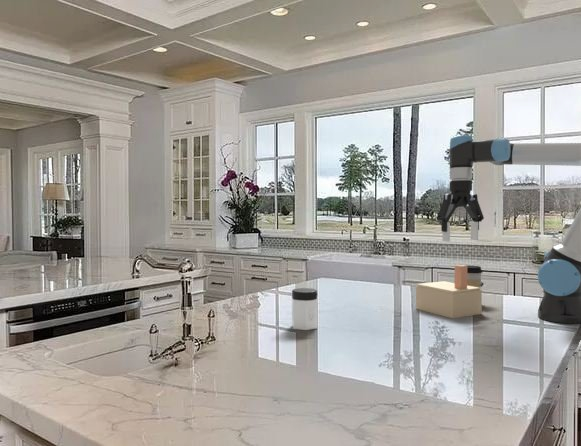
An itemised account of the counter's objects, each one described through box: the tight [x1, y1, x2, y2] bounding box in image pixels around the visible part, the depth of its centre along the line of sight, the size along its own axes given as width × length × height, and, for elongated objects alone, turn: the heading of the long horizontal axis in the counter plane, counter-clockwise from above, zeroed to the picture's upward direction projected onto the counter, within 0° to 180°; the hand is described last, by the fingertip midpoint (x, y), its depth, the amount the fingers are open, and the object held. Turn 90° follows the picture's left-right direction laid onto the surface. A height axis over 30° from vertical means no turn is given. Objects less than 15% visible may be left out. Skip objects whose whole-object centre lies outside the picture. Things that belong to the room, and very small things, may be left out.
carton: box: [415, 285, 483, 319], centre depth 178 cm, size 18×14×9 cm
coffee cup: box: [465, 264, 483, 289], centre depth 193 cm, size 9×9×15 cm
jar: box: [291, 287, 319, 331], centre depth 158 cm, size 9×8×12 cm
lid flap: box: [416, 264, 481, 293], centre depth 178 cm, size 17×14×9 cm
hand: (460, 240), depth 173 cm, fingers open, 13 cm apart
